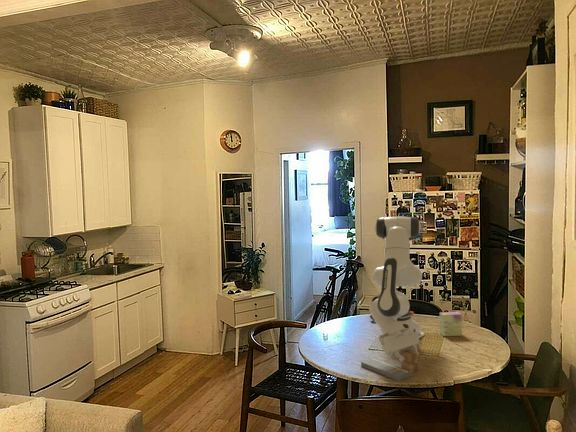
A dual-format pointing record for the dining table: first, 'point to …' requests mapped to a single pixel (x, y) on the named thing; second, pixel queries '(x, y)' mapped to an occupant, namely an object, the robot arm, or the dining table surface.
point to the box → (450, 323)
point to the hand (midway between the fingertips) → (410, 358)
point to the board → (386, 369)
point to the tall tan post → (410, 360)
